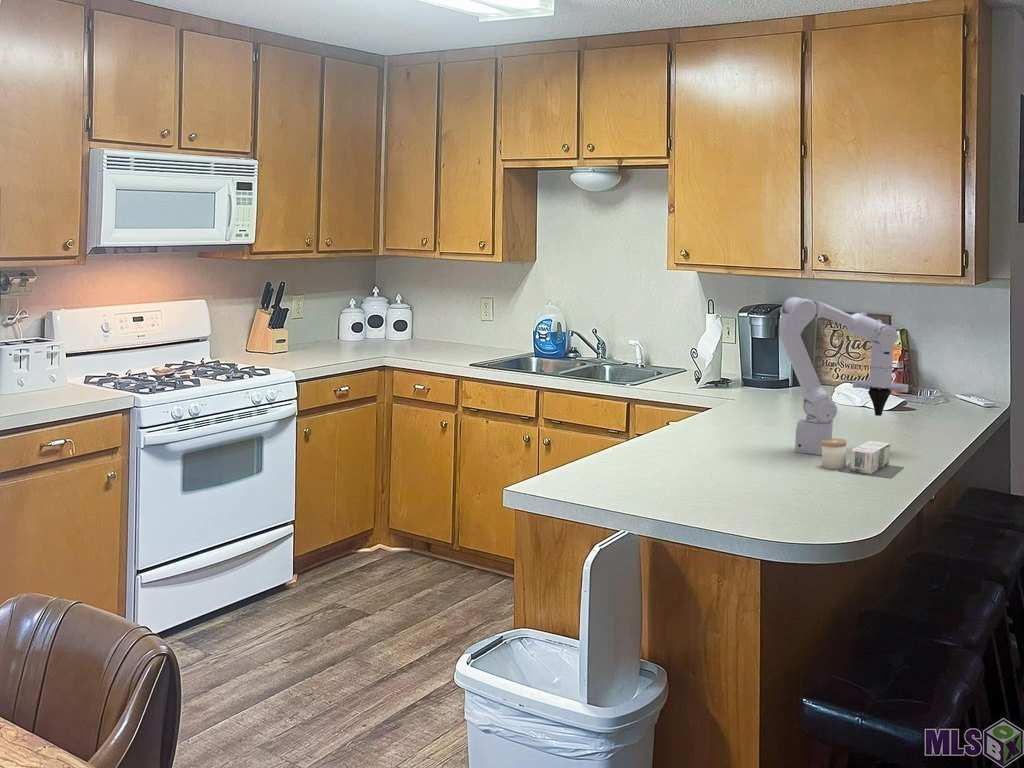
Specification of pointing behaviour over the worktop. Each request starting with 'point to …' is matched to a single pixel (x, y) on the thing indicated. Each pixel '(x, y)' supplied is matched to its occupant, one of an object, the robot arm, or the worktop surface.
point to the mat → (883, 472)
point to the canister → (833, 453)
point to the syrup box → (870, 457)
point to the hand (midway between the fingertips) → (878, 415)
